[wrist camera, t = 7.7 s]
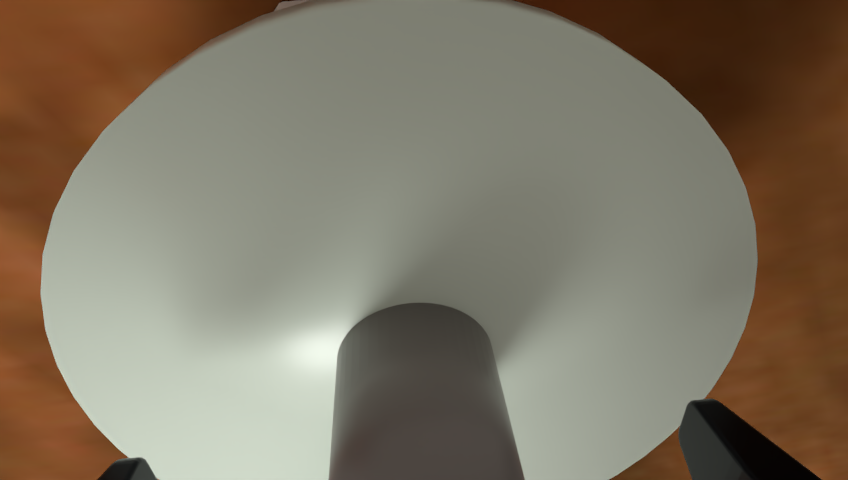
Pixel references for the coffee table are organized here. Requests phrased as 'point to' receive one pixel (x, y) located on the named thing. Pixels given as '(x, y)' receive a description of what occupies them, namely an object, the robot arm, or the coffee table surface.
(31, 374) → the coffee table surface
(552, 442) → the lid
